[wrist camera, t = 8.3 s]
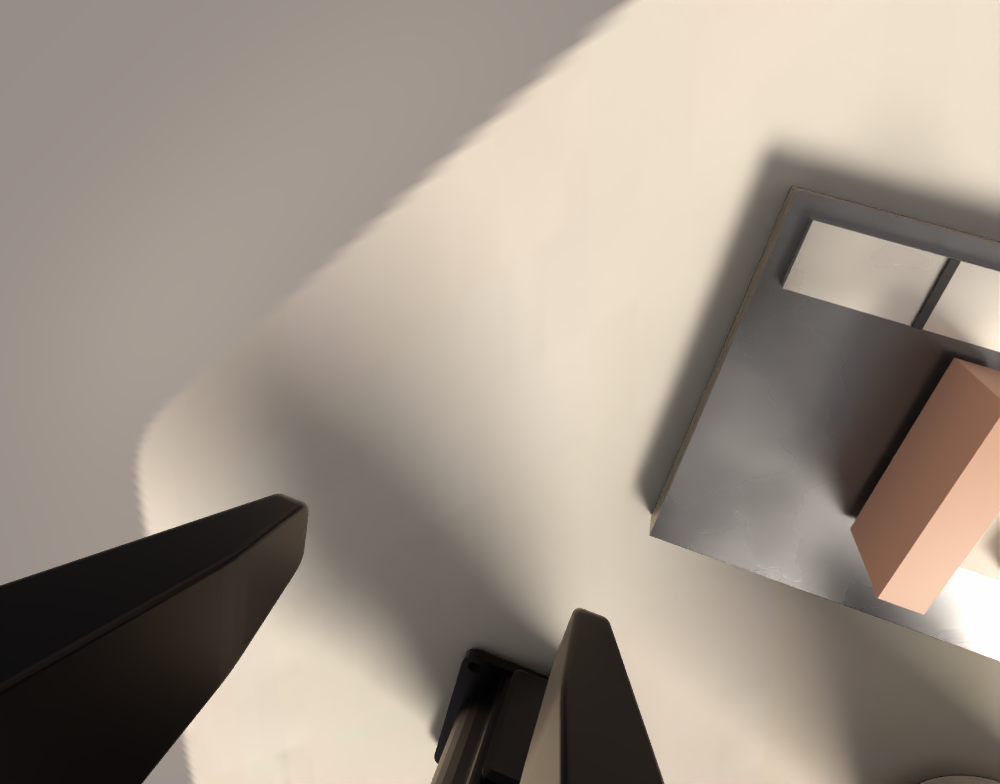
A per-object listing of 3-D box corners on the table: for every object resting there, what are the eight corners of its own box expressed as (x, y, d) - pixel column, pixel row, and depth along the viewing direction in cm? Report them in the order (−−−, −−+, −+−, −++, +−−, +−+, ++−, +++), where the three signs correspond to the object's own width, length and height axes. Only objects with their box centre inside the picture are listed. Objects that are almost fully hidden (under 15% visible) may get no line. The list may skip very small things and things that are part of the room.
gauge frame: (1106, 678, 18) (1197, 797, 14) (651, 516, 19) (644, 591, 16) (1418, 355, 13) (1645, 427, 10) (791, 185, 15) (818, 202, 12)
